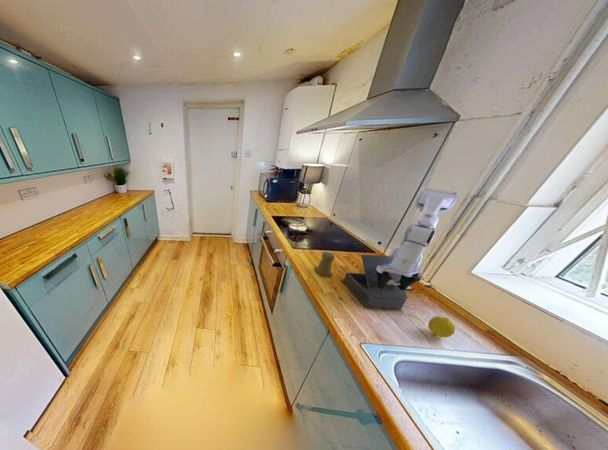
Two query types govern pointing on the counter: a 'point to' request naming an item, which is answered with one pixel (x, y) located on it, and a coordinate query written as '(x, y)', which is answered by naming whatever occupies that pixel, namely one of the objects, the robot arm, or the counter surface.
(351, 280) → the grey hinged box
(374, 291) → the lid
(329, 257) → the dark chess pawn
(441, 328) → the lemon
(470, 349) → the counter surface
